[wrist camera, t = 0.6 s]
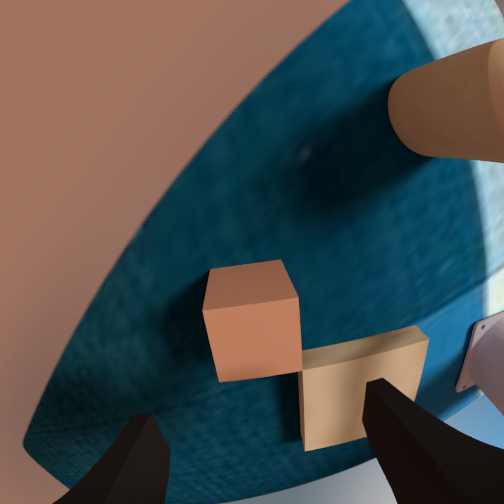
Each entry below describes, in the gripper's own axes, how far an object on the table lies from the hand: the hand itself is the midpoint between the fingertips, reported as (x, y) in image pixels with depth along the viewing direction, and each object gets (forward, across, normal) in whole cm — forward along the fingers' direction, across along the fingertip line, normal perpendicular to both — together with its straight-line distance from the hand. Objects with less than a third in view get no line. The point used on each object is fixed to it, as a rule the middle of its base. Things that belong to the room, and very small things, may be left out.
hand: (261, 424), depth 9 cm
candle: (+10, -12, -10) cm, 19 cm away
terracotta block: (+10, 0, 0) cm, 10 cm away
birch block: (+10, -7, +9) cm, 15 cm away
